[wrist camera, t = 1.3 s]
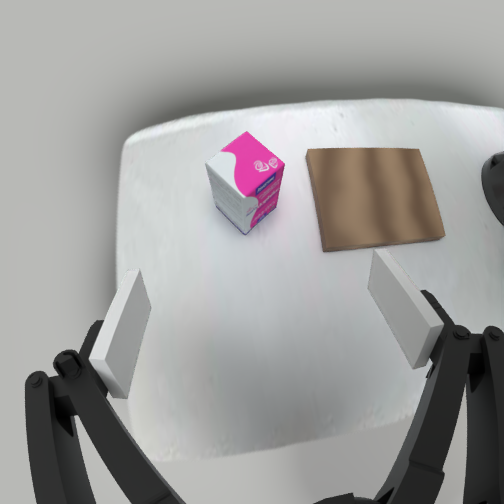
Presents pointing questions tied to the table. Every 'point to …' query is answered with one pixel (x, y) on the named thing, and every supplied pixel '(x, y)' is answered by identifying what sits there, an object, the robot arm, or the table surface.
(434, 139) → the table surface
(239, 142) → the supplement box
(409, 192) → the brown flat block
